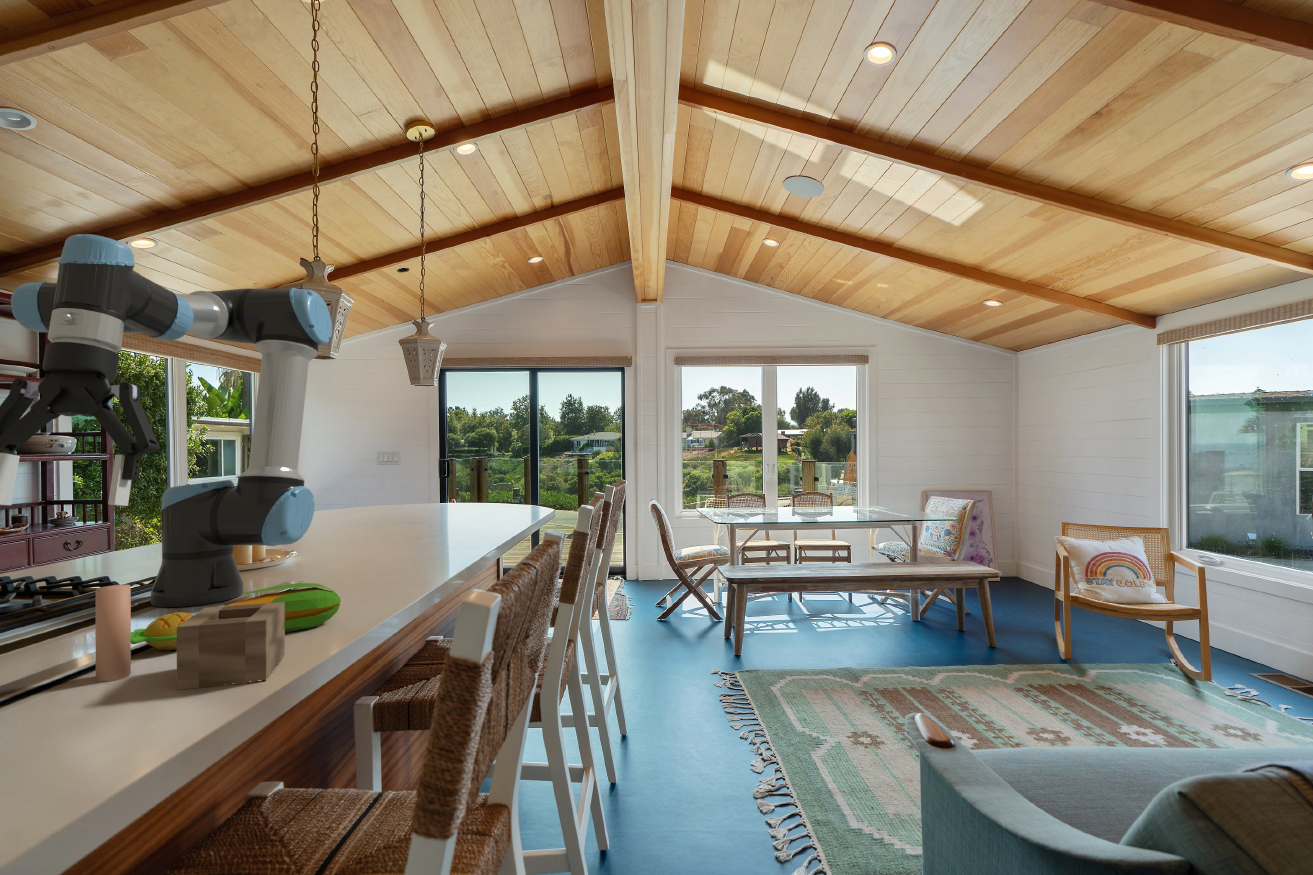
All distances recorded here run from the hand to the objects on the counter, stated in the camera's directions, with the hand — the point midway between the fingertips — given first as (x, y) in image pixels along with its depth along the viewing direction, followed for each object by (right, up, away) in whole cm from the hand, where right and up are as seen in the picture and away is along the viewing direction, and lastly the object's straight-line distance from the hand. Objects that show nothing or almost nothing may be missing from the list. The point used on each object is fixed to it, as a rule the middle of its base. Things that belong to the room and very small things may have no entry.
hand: (59, 505), depth 83 cm
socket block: (+20, -23, +5) cm, 31 cm away
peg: (+4, -23, +3) cm, 24 cm away
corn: (+14, -24, +23) cm, 36 cm away
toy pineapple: (+3, -24, +14) cm, 28 cm away
